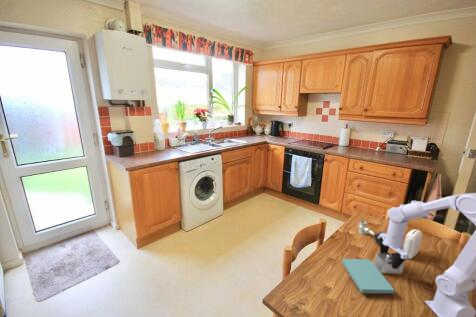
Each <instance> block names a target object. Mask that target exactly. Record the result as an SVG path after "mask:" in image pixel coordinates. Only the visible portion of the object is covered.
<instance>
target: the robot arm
mask: <svg viewBox="0 0 476 317" xmlns="http://www.w3.org/2000/svg"><path fill="white" fill-rule="evenodd" d="M444 209H452V210H454V211H456V212H457V211H460V213H462V214H463V215H464V216H465V218H467V219H468V220H469V221H470V222H471V223H472V224H474V226H475V227H476V192H469V193H462V194H461V193H460V194H454V195H453V194H452V195H450V196H449V195H448V196H445V197H441V198H439V199H436V200H432V201H428V202H423V201H422V200H421V201H419V200H418V201H417V200H415V199H414V200H411V201H410V203H407V204H404V203H402V204H400V205H399V206H395V207H393V206H392V207H391V208H390V209H389V210H388V211H387V216H388V218H389V221H388V227H387V230H386V233H385V232H384V233H380V235H379V237H380V238H381V239H378V238H377V239H378V240H377V241H378V243H377V244H378V246H379V252H380V253H389V249H391V250H393V251H394V253H393V252H392V253H391V255H392V268H393V269H398V268H399V266H400V265H401V264H402V263H403V262H404V261H405V262H406V261H408V260H409V259H408V254H407V253H406V252H405V250H404V248H403V243H404V238H405V234H406V230H407V226H408V223H409V221H411V220H416V219H421V218H427V217H428V216H429V215H430V213H431V212H435V211H440V210H444ZM395 252H396V253H395ZM434 281H435V285H436V286H437V287H436V290H435V293H434V297H433V300H425V301H424V302H425V303H426V305H427V306H428V307H429V308H430V309H431V310H432V311H433V312H434V314H436V316H437V317H476V309H475V308H474V307H473V305H472V304H471V303H470V301H469V292H470V291H473V290H475V289H476V229H475V231H473V234H472V235H471V236H470V238H469V240H468V241H467V243H466V244H465V246H464V247H463V249H462V250H461V251H460V253H459V255H458V256H457V257H456V259H455V261H454V263H453V264H452V266H450V267H449V268H448V269H446V270H444V272H443V274H440V275H437V276H436V277H435V280H434Z"/></svg>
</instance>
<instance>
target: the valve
mask: <svg viewBox="0 0 476 317" xmlns="http://www.w3.org/2000/svg"><path fill="white" fill-rule="evenodd" d="M367 225H368V222H367V221H366V220H359V224H358V226H357V227H358V230H357V231H358V232H357V233H358V234H360V235H364V236H365V235H366V234H368V235H369V234H370V235H371V236H373V239H374V241H373V242H374V243H377V244H379V243H378V241H377V240H378V239H381V238H380V237H379V236H380V233H385V232H383V231H380V230H379V231H378V233H377V232H376V233H375V232H374V231H373V230H371V228H369V227H367Z"/></svg>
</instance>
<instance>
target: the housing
mask: <svg viewBox="0 0 476 317" xmlns="http://www.w3.org/2000/svg"><path fill="white" fill-rule="evenodd" d="M405 262H406V261H404V262H403V263H402V264H401V265H400V266H399V268H398V269H393V268H392V255H391V253H390V252H388V253H378V252H377V253H376V252H375V256H374V261H373V264H374V265H375V266H376V268H377V269H378V270H379V271H380V273H381V274H403V271H404V267H405Z"/></svg>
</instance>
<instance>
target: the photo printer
mask: <svg viewBox="0 0 476 317" xmlns="http://www.w3.org/2000/svg"><path fill="white" fill-rule="evenodd" d="M422 237H423V232H422V231H421V230H419V229H412V230H410V231H409V232H407V234H406V235H405V236H404V238H405V239H404V240H403V244H402V246H403V248H404V250H405V252H406V253H407V254H408V259H407V260H411V259H413V257H415V256H416V255H417V254H418V252H419V250H420V245H421V242H422V240H423V238H422Z"/></svg>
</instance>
